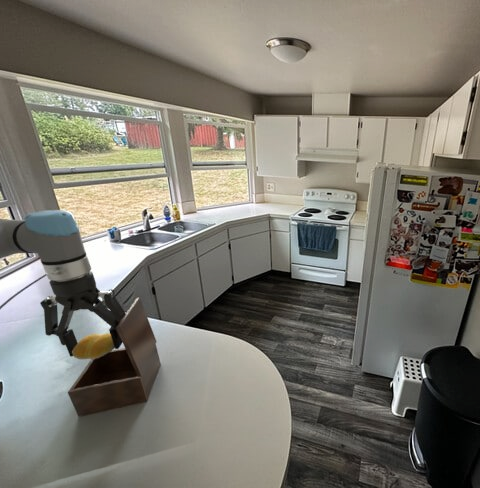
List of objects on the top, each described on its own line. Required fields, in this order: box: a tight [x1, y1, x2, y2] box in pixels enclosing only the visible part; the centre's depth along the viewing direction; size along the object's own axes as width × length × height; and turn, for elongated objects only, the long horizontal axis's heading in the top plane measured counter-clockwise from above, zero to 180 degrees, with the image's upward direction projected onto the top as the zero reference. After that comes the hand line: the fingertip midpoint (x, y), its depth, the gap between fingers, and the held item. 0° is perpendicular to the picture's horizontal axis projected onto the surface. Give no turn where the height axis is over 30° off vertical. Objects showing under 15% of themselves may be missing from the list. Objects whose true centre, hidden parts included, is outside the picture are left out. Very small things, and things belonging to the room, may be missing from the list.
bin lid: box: [116, 297, 158, 377], centre depth 70 cm, size 17×14×1 cm
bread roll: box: [72, 332, 115, 360], centre depth 67 cm, size 8×9×4 cm
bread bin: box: [67, 343, 162, 418], centre depth 72 cm, size 16×14×9 cm
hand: (97, 348), depth 68 cm, fingers closed on bread roll, 9 cm apart
